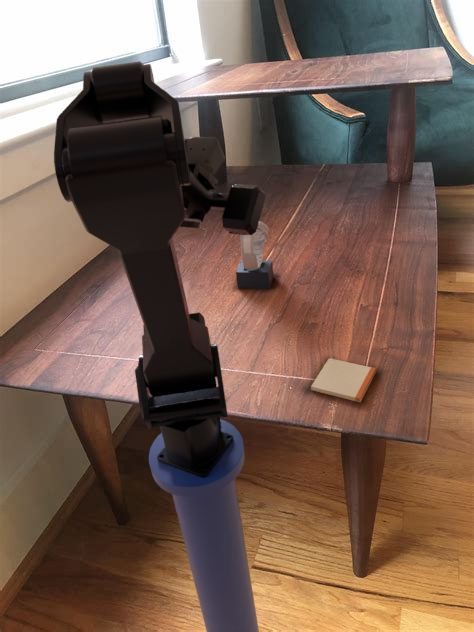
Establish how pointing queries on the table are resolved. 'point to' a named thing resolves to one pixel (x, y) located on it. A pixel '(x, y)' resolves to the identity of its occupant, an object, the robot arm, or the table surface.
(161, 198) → the robot arm
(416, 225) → the table surface
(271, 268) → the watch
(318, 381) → the mat
